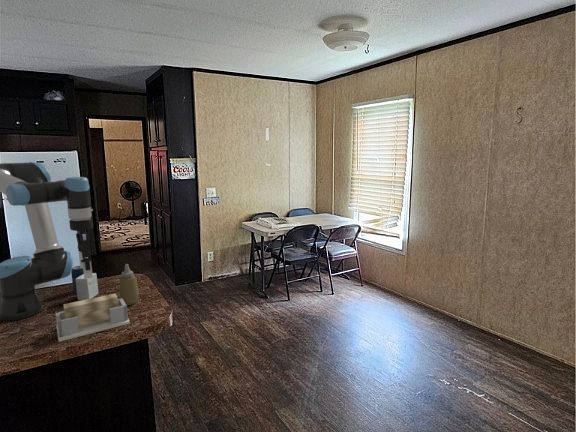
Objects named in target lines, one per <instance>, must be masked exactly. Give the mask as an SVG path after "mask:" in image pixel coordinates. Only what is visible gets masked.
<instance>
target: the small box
mask: <svg viewBox="0 0 576 432" xmlns="http://www.w3.org/2000/svg"><path fill="white" fill-rule="evenodd" d="M92 275H93V277H92V278H87V279H84V274H83V275H81V276H79V277H78V278H76V279H75V280H76V288H77V293H76V297H77V301H82V300H87V299H92V298H96V296H97V295H98V294H99V285H98V277H97V273H96V272H92Z"/></svg>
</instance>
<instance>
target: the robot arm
mask: <svg viewBox="0 0 576 432" xmlns="http://www.w3.org/2000/svg"><path fill="white" fill-rule="evenodd" d="M49 171H50V170H49V169H48V167H46V165H45V164H43V163H42V162H32V161H31V162H11V163H9V162H7V163H4V162H3V163H1V162H0V193H1V194H3V195H5V196H6V199H7V202H9V203H8V204H10V205H11V206H13V207H15V206H17V207H18V206H21V207H22V206H23V207H24V209H25V212H26V217H27V220H28V223H29V226H30V227H29V228H30V230H31V235H32V238H33V241H34V246H35V251H34V252H33V253H32V254H33V255H32V256H33V257H31V256H29V255H21V256H14V257H11V258H9V259H6V260H3V261H2V262H0V297H1V300H0V320H1V321H9V322H10V321H17V320H18V321H19V320H22V319H26V318H29V317H32V316H35V315H37V314H39V313H40V312H42V311H43V309H44V306H43V302H42V300H40V298H39V295H38V293H37V292H36V286H38V285H42V284H46V283H50V282H53V281H57V280H58V281H59V280H61V279H64V278H67V277H70V275H71V272H72V268H73V267H74V265H73V261H74V260H73V257H72V255H71V252H70V251H68V250H65V247H63V246H62V245H60V244H59V240H58V236H57V233H56V229H55V224H54V221H53V217H52V214H51V210H50V206H49V203H55V202H56V203H57V202H63V201H64V202H65V201H66V202H67V214H68V219H69V221H68V223H69V229H70V230H71V231H75V232H76V233H75V237H76V242H77V249H78V250H77V251H78V259H79V266H80V268H83V271H84V279H87V278H92V277H93V275H92V273H93V267H92V266H93V265H92V260H93V259H92V255H91V249H90V234H89V233H88V232H87V230H90V229H93V227H94V222H93V219H92V216H93V215H92V212H93V211H94V209H93V208H92V206H91V202H92V201H91V191H90V189H91V188H90V187H91V186H90V184H89V179H88V178H87V177H85V176H69V177H66V178H65V179H64V180H61V179H60V180H56V181H51V180H52V177H51V174H50V172H49Z"/></svg>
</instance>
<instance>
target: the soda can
mask: <svg viewBox="0 0 576 432" xmlns="http://www.w3.org/2000/svg"><path fill="white" fill-rule="evenodd" d="M83 274H84V271H83V268H80V265H76V266H73V267H72V272H71V274H70V275H71V282H72V289H73V292H74V293H76V294H77V288H76V280H75V279H76V278H78V277H79V276H81V275H83Z"/></svg>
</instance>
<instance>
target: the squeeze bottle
mask: <svg viewBox="0 0 576 432" xmlns="http://www.w3.org/2000/svg"><path fill="white" fill-rule="evenodd" d="M139 295H140V291H139V287H138V281H137V278H136V276H135V275H134V271H133V270H131V269H130V267H129V264H128V263H125V264H124V271H122V272H121V277H119V299H121V298H122V299H123V300H124V302H125V304H126V305H127V306H131V305H135V304H137V302H138V300H139V297H140V296H139Z"/></svg>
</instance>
